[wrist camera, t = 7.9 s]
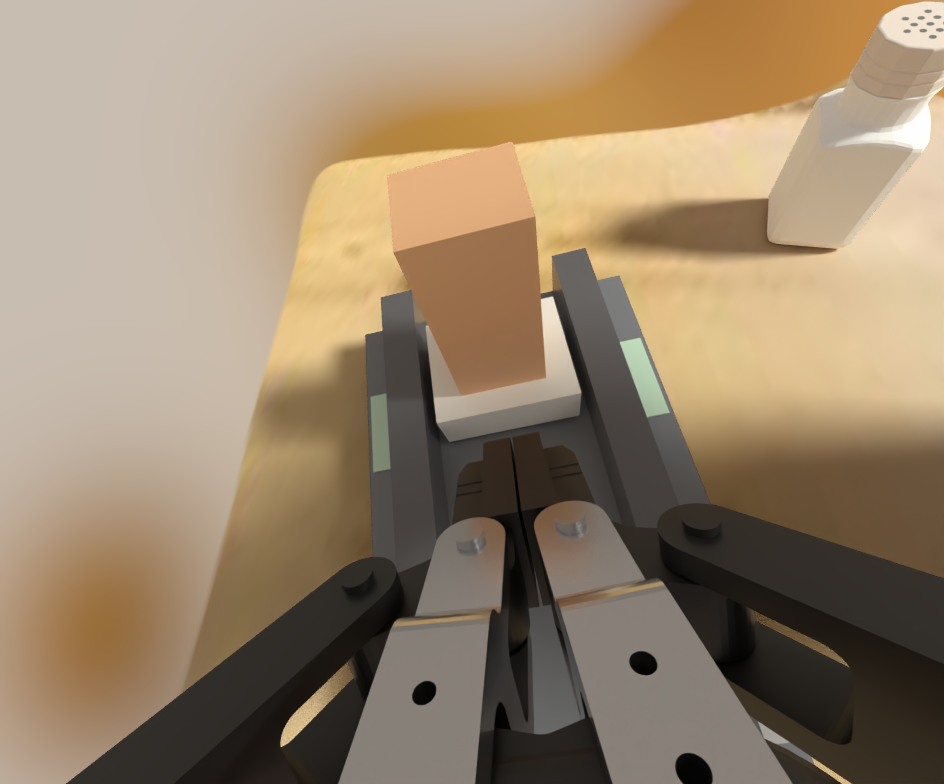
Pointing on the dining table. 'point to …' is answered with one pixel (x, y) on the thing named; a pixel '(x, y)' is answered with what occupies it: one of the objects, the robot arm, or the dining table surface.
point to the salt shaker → (862, 134)
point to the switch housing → (588, 435)
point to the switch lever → (481, 294)
